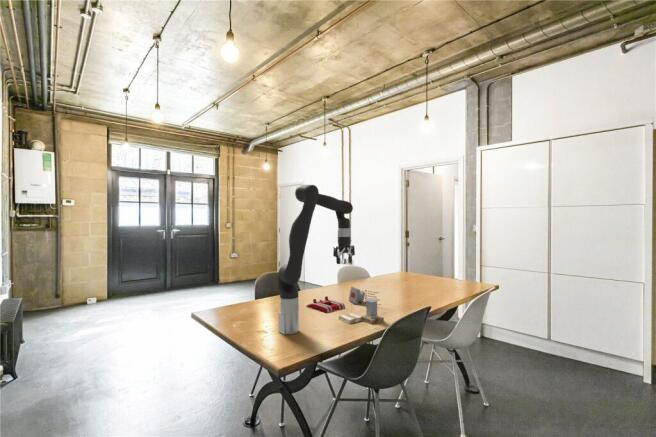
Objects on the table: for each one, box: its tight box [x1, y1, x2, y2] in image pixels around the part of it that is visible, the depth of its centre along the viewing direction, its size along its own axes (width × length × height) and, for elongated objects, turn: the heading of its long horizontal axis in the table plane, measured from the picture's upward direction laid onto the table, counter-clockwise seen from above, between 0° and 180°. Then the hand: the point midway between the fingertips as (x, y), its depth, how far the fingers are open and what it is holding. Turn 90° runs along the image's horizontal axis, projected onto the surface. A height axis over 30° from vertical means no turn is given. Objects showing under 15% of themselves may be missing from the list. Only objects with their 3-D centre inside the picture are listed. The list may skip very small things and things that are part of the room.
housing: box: [364, 296, 379, 319], centre depth 178 cm, size 5×5×10 cm
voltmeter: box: [348, 286, 381, 306], centre depth 213 cm, size 27×11×10 cm, turn 56°
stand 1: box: [338, 312, 363, 324], centre depth 179 cm, size 9×9×2 cm
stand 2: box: [360, 315, 385, 325], centre depth 178 cm, size 9×9×2 cm
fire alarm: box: [305, 296, 346, 314], centre depth 206 cm, size 16×6×20 cm
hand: (344, 263), depth 190 cm, fingers open, 8 cm apart
